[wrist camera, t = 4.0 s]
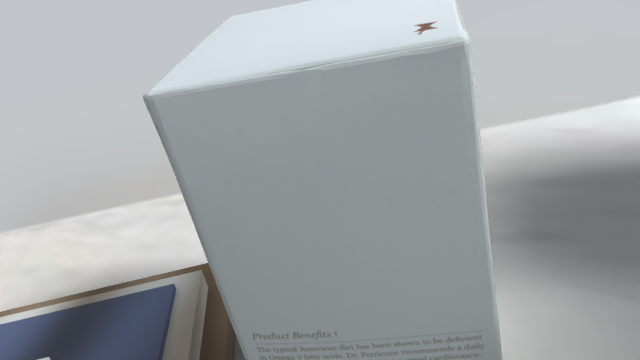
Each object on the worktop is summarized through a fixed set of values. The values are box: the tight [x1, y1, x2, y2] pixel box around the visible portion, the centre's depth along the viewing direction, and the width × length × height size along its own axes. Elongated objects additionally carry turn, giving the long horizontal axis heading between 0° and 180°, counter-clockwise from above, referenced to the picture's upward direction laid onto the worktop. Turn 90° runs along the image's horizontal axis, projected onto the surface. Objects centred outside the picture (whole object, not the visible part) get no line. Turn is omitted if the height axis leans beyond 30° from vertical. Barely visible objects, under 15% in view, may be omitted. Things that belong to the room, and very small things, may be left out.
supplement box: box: [143, 0, 502, 360], centre depth 18 cm, size 7×7×13 cm
